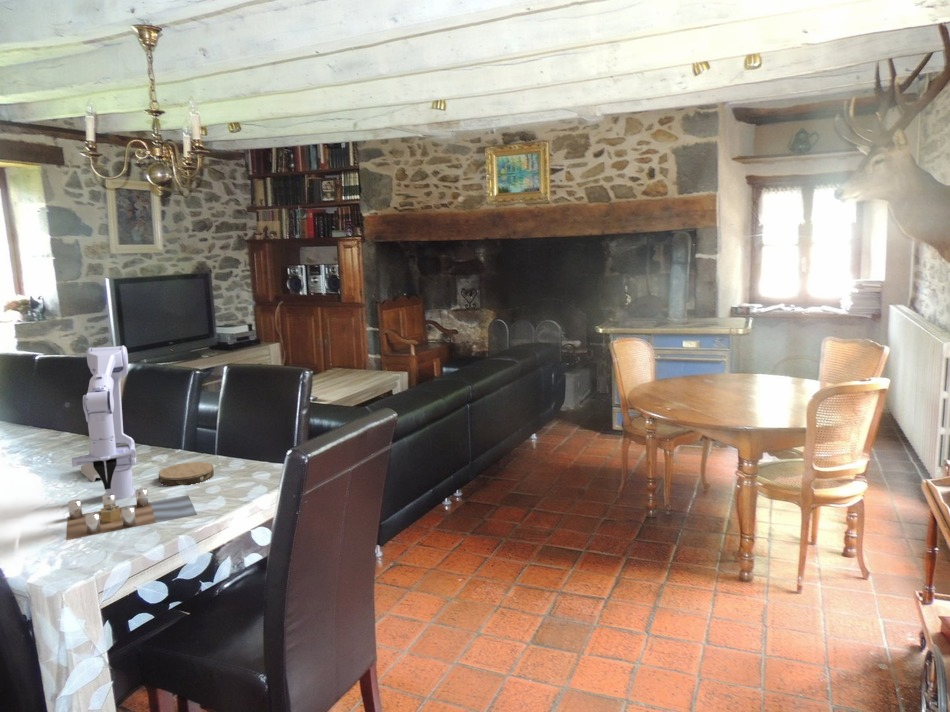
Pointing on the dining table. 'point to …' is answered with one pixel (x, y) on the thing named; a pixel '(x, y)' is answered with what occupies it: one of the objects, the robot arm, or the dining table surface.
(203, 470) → the brown flat round disc
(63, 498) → the dining table surface
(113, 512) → the brass nut
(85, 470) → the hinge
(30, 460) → the dining table surface
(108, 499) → the steel spacers
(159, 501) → the spacer board
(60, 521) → the dining table surface
